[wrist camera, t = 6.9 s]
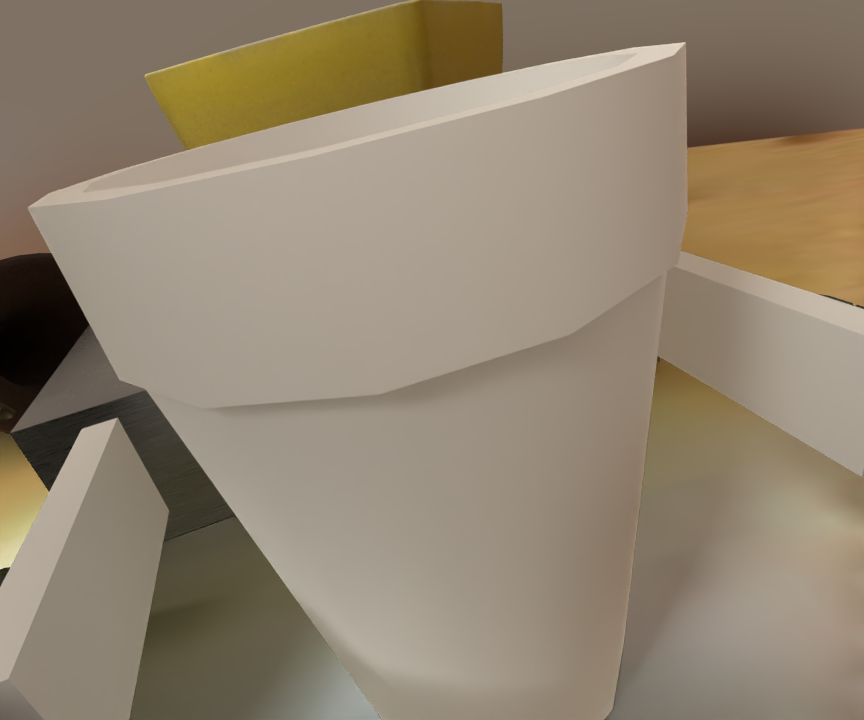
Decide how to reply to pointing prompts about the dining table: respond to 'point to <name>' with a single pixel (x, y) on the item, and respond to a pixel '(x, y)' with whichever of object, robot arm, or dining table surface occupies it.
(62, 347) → the pipe
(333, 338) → the foam cup
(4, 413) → the moss-covered rock
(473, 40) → the flower pot
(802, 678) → the dining table surface
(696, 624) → the dining table surface
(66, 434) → the block
